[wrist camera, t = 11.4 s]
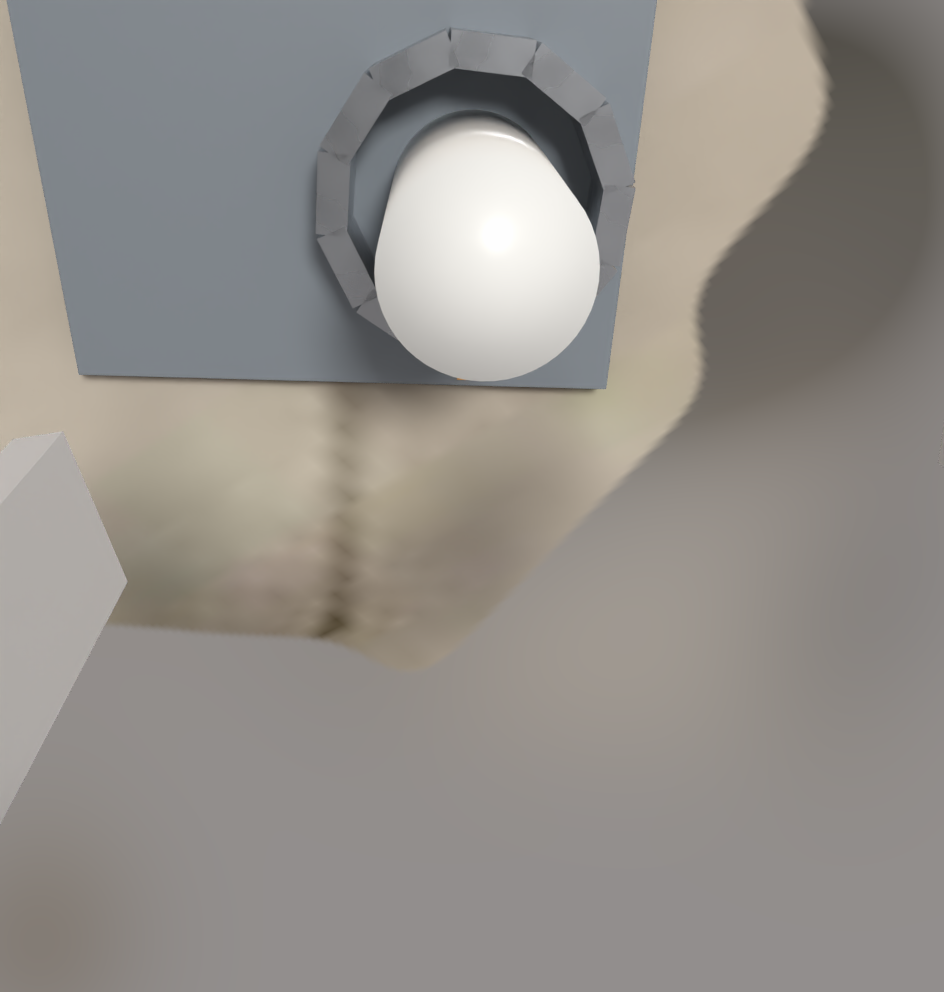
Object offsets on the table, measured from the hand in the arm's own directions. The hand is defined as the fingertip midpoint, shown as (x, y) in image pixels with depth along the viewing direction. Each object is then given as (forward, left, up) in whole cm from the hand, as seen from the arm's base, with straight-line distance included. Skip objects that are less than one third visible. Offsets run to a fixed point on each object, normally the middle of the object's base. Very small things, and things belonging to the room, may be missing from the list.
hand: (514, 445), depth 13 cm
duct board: (-4, -2, -20) cm, 21 cm away
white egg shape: (0, 0, -19) cm, 19 cm away
